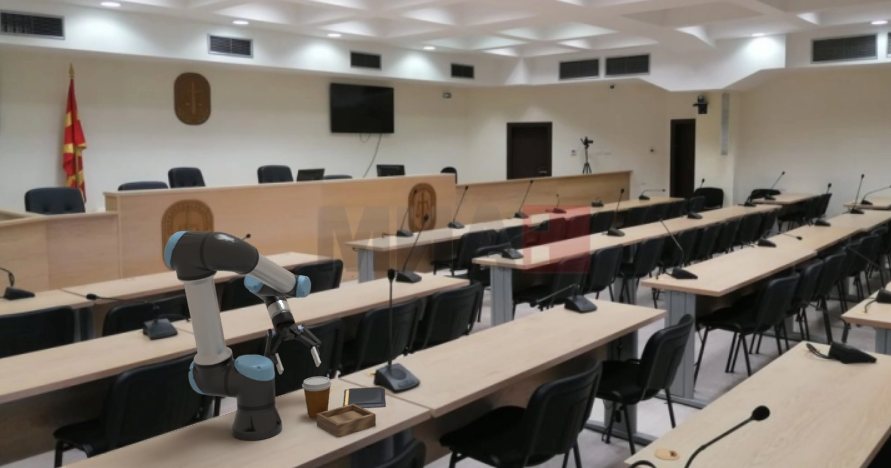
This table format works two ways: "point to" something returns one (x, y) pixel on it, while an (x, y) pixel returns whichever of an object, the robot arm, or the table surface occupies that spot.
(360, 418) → the tray
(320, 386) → the disposable coffee cup
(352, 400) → the wallet
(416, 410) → the table surface
